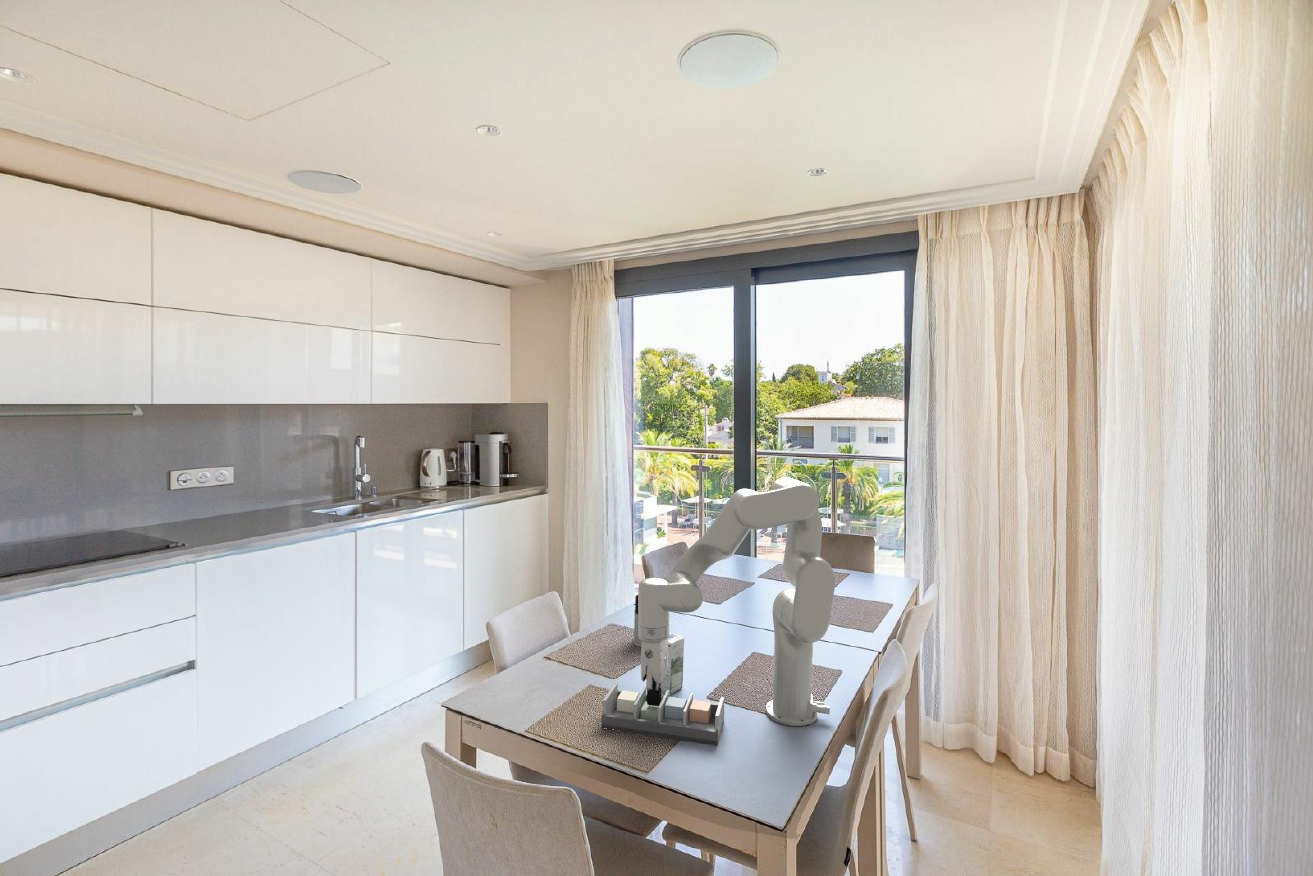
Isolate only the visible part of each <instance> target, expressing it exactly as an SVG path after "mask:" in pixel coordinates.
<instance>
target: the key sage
mask: <svg viewBox="0 0 1313 876" xmlns="http://www.w3.org/2000/svg"><path fill="white" fill-rule="evenodd" d="M658 707H659V706H652V705H647V702H646V701H645V703H644V705H643V707H642V708H641V719H642V720H649V721H656V722H658Z"/></svg>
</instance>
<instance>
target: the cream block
mask: <svg viewBox="0 0 1313 876" xmlns="http://www.w3.org/2000/svg"><path fill="white" fill-rule="evenodd" d="M621 691H622V692H621V693H620V695H619V696H618V698H617V711H624V712H631V713H634V703H635V701H636V700H637V698H638V696H639V693H640V692H639V691H638V692H637V691H636V692H635V691H630V690H621Z"/></svg>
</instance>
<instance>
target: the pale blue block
mask: <svg viewBox="0 0 1313 876" xmlns="http://www.w3.org/2000/svg"><path fill="white" fill-rule="evenodd" d="M687 700H688V699H687V698H682V697H673V696H669V698H668V700H667V702H666V704H665V717H666V718H673V719H681V720H683V711H684V708H685V706H686V703H687Z"/></svg>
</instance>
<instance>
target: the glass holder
mask: <svg viewBox="0 0 1313 876" xmlns="http://www.w3.org/2000/svg"><path fill="white" fill-rule="evenodd" d="M634 606H635V608H634V620H633V621H634V622H633V625H634V627H633V629H634V630H633V632H634V633H633V640H632V643H633V645H635V646H636V647H641V648H642V640H641V639H640V638H639V637H638V594H636V595H635V601H634Z"/></svg>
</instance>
